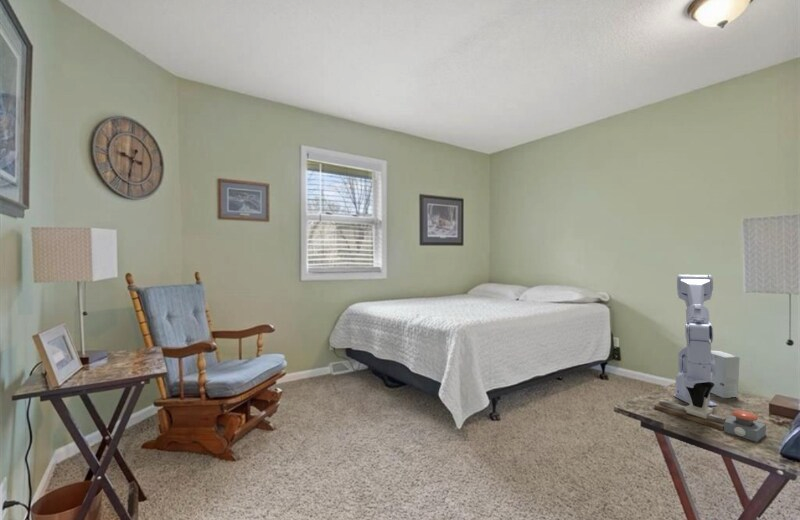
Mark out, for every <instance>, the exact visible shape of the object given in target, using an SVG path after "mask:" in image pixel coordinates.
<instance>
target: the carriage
mask: <svg viewBox="0 0 800 520" xmlns="http://www.w3.org/2000/svg"><path fill="white" fill-rule="evenodd" d="M685 406H686V405H685ZM685 410H687V413H689V414H692V415H696V416H699V417H702V418H705V419H707V414H708V413H710V414H713V413H712V412H713V411H714V408H712V407H711V406H708V398H706V397H704V402H703V406H702V408H699V407H696V406H693V403H692V400H691V397H690V404H689V405H687V406H686V407H685Z"/></svg>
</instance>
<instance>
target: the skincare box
mask: <svg viewBox="0 0 800 520" xmlns="http://www.w3.org/2000/svg"><path fill="white" fill-rule="evenodd" d="M711 353H712V354H713V356H714V361H715V376H714V377H713V379H712V381H711V382H712V383H714V386H713V388H712V389H711V391H710V393H711V394H713V395H715V396H718V397H720V398H723V399H730V398H731V397H736V398H739V397H738V396H739V377H740V375H739V374H740V373H739V372H740V356H737V355H734V354H731V353H729V352H725V351H720V350H711ZM731 399H732V398H731Z"/></svg>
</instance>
